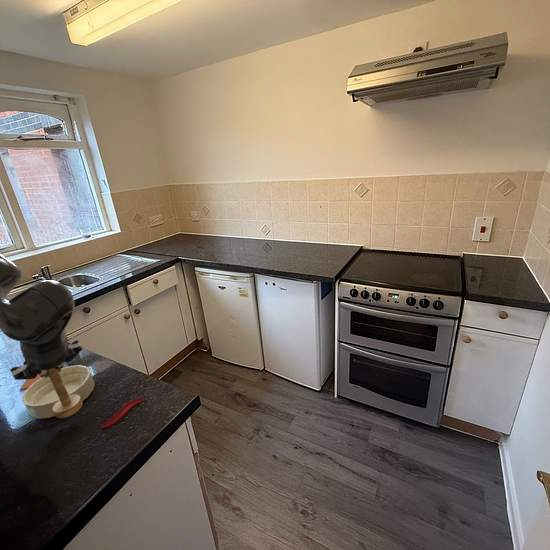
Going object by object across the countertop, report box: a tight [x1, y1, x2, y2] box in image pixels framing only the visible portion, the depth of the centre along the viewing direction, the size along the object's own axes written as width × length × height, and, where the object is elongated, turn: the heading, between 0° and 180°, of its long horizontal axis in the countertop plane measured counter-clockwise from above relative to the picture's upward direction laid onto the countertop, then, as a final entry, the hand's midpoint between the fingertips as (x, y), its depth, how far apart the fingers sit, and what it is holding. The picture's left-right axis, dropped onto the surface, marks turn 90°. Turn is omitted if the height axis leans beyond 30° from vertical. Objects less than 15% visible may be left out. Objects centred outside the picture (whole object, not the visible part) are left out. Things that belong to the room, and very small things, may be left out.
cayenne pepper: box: [99, 398, 147, 429], centre depth 79 cm, size 12×5×2 cm, turn 131°
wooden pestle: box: [47, 367, 84, 419], centre depth 73 cm, size 6×6×15 cm
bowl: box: [21, 364, 96, 420], centre depth 86 cm, size 16×16×5 cm
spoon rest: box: [19, 375, 41, 391], centre depth 97 cm, size 9×9×1 cm
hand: (51, 371), depth 73 cm, fingers closed on wooden pestle
